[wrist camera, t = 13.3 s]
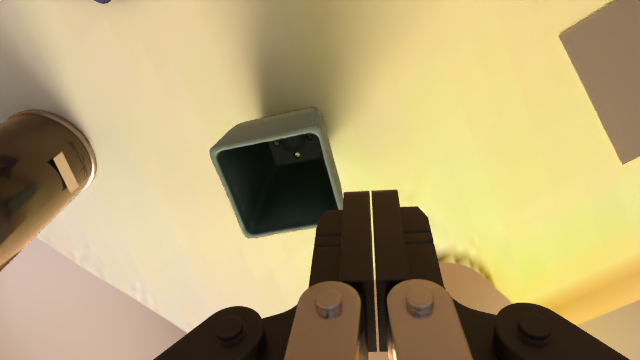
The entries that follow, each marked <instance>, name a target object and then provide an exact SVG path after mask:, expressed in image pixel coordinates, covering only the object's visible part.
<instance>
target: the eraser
mask: <svg viewBox="0 0 640 360" xmlns="http://www.w3.org/2000/svg"><path fill="white" fill-rule="evenodd" d="M94 1H96V2H99V3H102V4H105V3H108V2H110V1H111V0H94Z"/></svg>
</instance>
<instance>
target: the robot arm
mask: <svg viewBox="0 0 640 360" xmlns="http://www.w3.org/2000/svg"><path fill="white" fill-rule="evenodd" d="M96 167H97V166H96V158H95V154H94V152H93V149H92V147H91V145H90V144H89V142H88V141H87V139H86V138H85V137H84V135H83V134H82V133H81V132H80V131H79V130H78V129H77V128H76V127H74V126H73V125H72V124H71V123H69V122H68V121H66V120H64V119H63V118H61V117H59V116H57V115H54V114H52V113H49V112H45V111H39V110H27V111H22V112H19V113H17V114H15V115H13V116H11V117H10V118H8V119H7V120H6V121H5V122H4V123H2V124H0V271H1V270H2V269H3V268H4V267H5V266H6V265H7V264H8V263H9V262H10V261H11V260H12V259H13V258H14V257H15V256H16V255H17V254H18V253H19V252H20V251H21V250H22V249H23V248H24V247H25V246H26V245H27V244H29V242H30V241H32V240H33V239H34V238H35V237H36V236H37V235H38V234H39V233H40V232H41V231H42V230H43V229H44V228H45V227H46V226H47V225H48V224H49V223H50V222H51V221H52V220H53V219H54V218H55V217H56V216H57V215H58V214H59V213H60V212H61V211H62V210H63V209H64V208H65V207H66V206H67V205H68V204H69V203H70V202H71V201H72V200H73V199H74V198H75V197H76V196H77V195H78V194H79V193H80V192H81V191H83V190H84V189H85V188H86V187H87V186H88V185H89V184H90V183H91V182H92V181H93V179H94V177H95V174H96ZM372 209H373V229H374V249H375V269H376V289H377V307H378V308H377V309H378V329H379V348H380V349H379V350H380V351H381V352H385V351H386V352H387V351H388V359H389V360H629V359H628V358H626V357H625V356H623V355H622V354H620V353H618V352H617V351H615V350H614V349H612V348H610V347H609V346H607V345H606V344H604V343H603V342H601V341H599V340H598V339H596V338H595V337H593V336H592V335H590V334H588V333H587V332H585V331H584V330H582V329H580V328H579V327H577V326H576V325H574V324H573V323H571V322H569V321H568V320H566V319H565V318H563V317H561V316H560V315H558V314H557V313H555V312H553V311H552V310H550V309H548V308H545V307H543V306H540V305H537V304H531V303H515V304H511V305H508V306H506V307H504V308H503V309H501V310H500V311H499V313H498V314H497V315H493V314H489V313H485V312H481V311H477V310H473V309H470V308H468V307H466V306H463V305H461V304H460V303H458V302H457V301H455V300H454V299H453V298H452V297H451V296H450V294H449V293H448V292H447V291H446V289H445V287H444V284H443V281H442V276H441V273H440V268H439V263H438V259H437V255H436V250H435V246H434V244H433V237H432V233H431V229H430V225H429V220H428V217H427V216H426V215H425V214H424V213H423V212H422V211H421V210H420V209H419V208H418V206H417V207H400V204H399V197H398V191H397V190H378V191H372ZM375 324H376V322H375V301H374V275H373V252H372V232H371V213H370V194H369V191H358V192H344V198H343V210H326V211H325V213H324V214H323V215H322V216H321V218H320V219H319V220H318V222H317V228H316V237H315V243H314V251H313V259H312V266H311V274H310V281H309V288H308V289H307V290H306V291H305V292H304V293H303V294H302V295H301V297H300V299H299V302H298V304H297V305H296V306H295V307H293V308H292V309H290V310H288V311H286V312H283V313H280V314H277V315H273V316H270V317H266V318H263V319H261V317H260V315H259V314H258V313H257V312H256V311H255V310H253V309H251V308H248V307H243V306H234V307H229V308H225V309H222V310H220V311H218V312H216V313H214V314H213V315H211V316H210V317H209V318H208V319H206V320H205V321H204V322H202V323H201V324H200V325H198V326H197V327H196V328H194V329H193V330H192V331H190V332H189V333H188V334H187V335H185V336H184V337H183V338H181V339H180V340H179V341H177V342H176V343H175V344H173V345H172V346H171V347H169V348H168V349H167V350H165V351H164V352H163V353H162V354H160V355H159V356H158V357H156V358H155V359H154V360H368V352H377V345H376V325H375Z"/></svg>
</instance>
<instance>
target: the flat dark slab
mask: <svg viewBox="0 0 640 360" xmlns="http://www.w3.org/2000/svg"><path fill="white" fill-rule="evenodd" d="M559 38H560V40H561V42H562V44H563V46H564V48H565V50H566V52H567V54H568V56H569V58H570V60H571V62H572V64H573V66H574V68H575V70H576V72H577V74H578V76H579V78H580V81H581V83H582V85H583V87H584V89H585V91H586V93H587V95H588V97H589V99H590V101H591V103H592V105H593V107H594V109H595V111H596V113H597V115H598V117H599V119H600V121H601V123H602V125H603V127H604V129H605V131H606V133H607V135H608V137H609V139H610V141H611V143H612V145H613V147H614V149H615V151H616V153H617V155H618V158H619V160H620V162H621V164H622V165H623V164H625V163H627V162H629V161H631V160H633V159H635V158H637V157H639V156H640V0H615V1H613V2H612V3H610V4H609V5H607V6H605V7H604V8H602V9H600V10H599V11H597V12H596V13H594V14H592V15H591V16H589V17H588V18H586V19H584V20H583V21H581V22H580V23H578V24H576V25H575V26H573V27H571V28H570V29H568V30H567V31H565V32H563V33H562V34H560V35H559Z"/></svg>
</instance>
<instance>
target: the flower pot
mask: <svg viewBox="0 0 640 360" xmlns="http://www.w3.org/2000/svg"><path fill="white" fill-rule="evenodd" d="M308 134H311V135H312V138H311V139H308V138H307V135H308ZM274 141H279V143H280V144H279V145H275V144H274ZM296 152H299V153H300V156H299V157H297V156H295V153H296ZM210 157H211V159H212V162H213V164H214V166H215V168H216V171H217V173H218V175H219V177H220V180H221V182H222V184H223V187H224V189H225V191H226V193H227V196H228V198H229V201H230V203H231V206H232V208H233V210H234V213H235V215H236V218H237V220H238V222H239V225H240V228H241V230H242V232H243V234H244V235H245V237H246V238H248V239H253V238H260V237H266V236H271V235H275V234H281V233H287V232H294V231H299V230H305V229H311V228H317V222H318V220H319V219H320V218H321V216H322V215H323V214H324V213H325V211H326V210H343V195H342V189H341V184H340V180H339V176H338V173H337V169H336V165H335V162H334V158H333V154H332V151H331V147H330V143H329V140H328V136H327V132H326V128H325V124H324V120H323V116H322V113H321V111H320V110H319V109H318V108H315V107H311V108H306V109H301V110H297V111H292V112H288V113H283V114H279V115H274V116H270V117H265V118H260V119H255V120H250V121H246V122H243V123H240V124H238V125H236V126H235V127H233V128H232V129H231V130H229V131H228V132H227V133H226V134H225V135H224V136H223V137H222V138H221V139H220V140H219V141H218V142H217V143H216V144H215V145H214V146H213V147H212V148H211V149H210Z"/></svg>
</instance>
